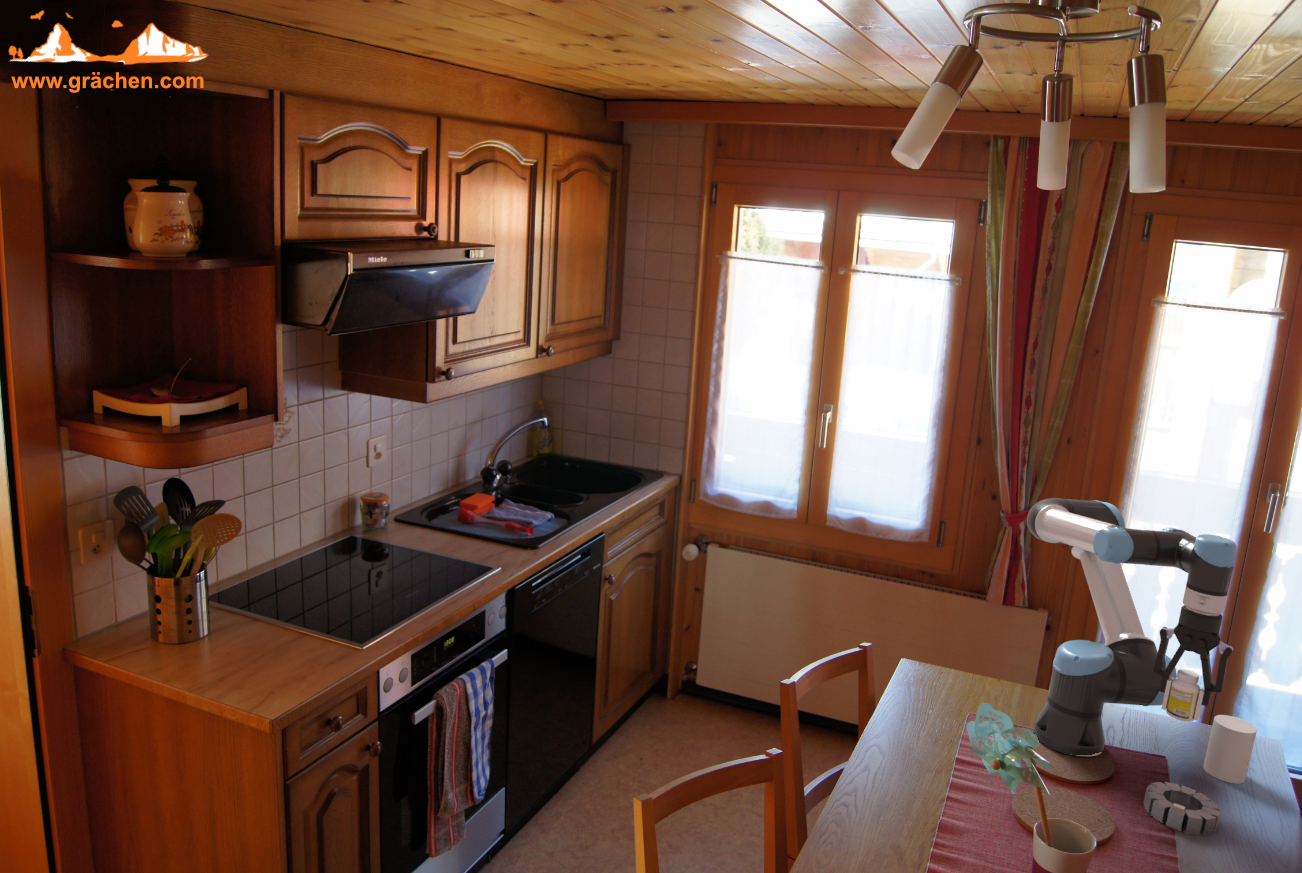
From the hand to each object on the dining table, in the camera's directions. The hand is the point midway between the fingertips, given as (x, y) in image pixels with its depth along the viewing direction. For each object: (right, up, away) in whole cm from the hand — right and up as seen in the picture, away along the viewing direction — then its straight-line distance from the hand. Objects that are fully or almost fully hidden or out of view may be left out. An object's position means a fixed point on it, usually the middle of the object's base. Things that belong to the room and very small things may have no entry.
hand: (1180, 712), depth 198 cm
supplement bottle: (0, -1, 0) cm, 1 cm away
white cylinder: (+16, -17, +10) cm, 25 cm away
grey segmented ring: (-5, -18, -9) cm, 21 cm away
